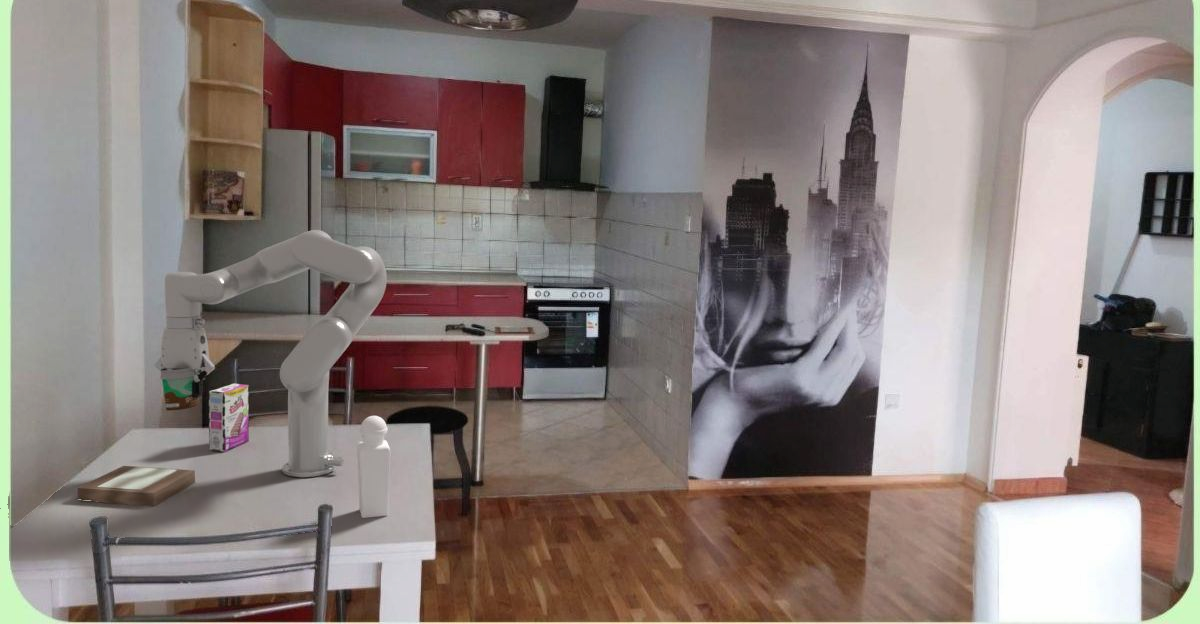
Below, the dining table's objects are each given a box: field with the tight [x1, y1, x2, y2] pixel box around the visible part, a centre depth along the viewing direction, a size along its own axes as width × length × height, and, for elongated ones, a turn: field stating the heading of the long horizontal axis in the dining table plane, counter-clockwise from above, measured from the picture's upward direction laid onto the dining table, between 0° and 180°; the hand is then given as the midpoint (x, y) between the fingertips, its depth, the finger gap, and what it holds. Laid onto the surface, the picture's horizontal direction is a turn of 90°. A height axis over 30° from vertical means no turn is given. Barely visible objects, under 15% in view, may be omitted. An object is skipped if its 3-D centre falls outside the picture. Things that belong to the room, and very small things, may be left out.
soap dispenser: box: [356, 415, 391, 519], centre depth 188 cm, size 6×6×22 cm
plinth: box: [76, 465, 196, 507], centre depth 197 cm, size 18×16×3 cm
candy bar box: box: [208, 383, 250, 453], centre depth 233 cm, size 11×5×16 cm, turn 169°
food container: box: [160, 368, 200, 411], centre depth 209 cm, size 12×6×10 cm, turn 177°
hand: (185, 395), depth 210 cm, fingers closed on food container, 5 cm apart
